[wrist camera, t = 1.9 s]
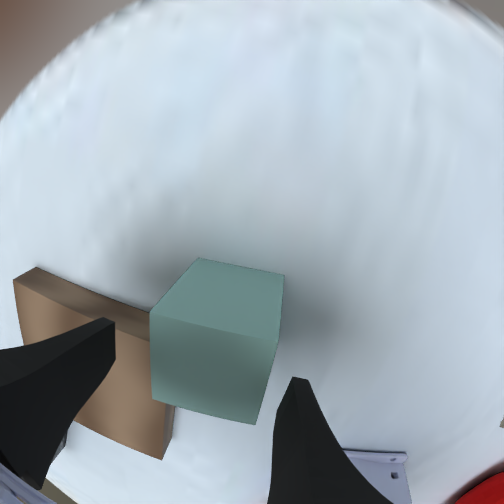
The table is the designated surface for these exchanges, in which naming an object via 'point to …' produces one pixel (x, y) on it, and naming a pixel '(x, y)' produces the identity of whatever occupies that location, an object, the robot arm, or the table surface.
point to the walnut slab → (122, 371)
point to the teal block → (216, 340)
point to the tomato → (486, 492)
